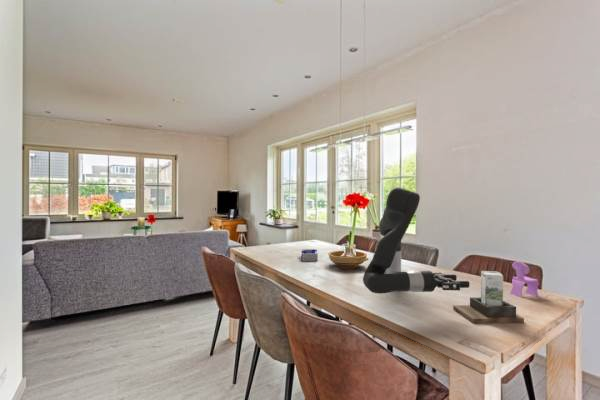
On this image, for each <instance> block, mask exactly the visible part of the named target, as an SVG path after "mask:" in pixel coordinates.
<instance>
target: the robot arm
mask: <svg viewBox="0 0 600 400" xmlns="http://www.w3.org/2000/svg"><path fill="white" fill-rule="evenodd" d="M420 200H421V196H420V194H419V193H417V192H415V191H411V190H409V189H406V188H402V187H397V186H396V187H393V188H392V189H391V190H390V191H389V193H388V194H387V199H386V203H385V204H386V206H385V209H384V211H383V215H382V218H381V219H380V221H379V224H378V230H379V234H380V235H381V236H383V237H381V238H380V239H379V241H378V242H377V245H376V248H375V251H374V253H373V256H372V259H371V260H370V262H369V264H368V265H367V267H366V269H365V272H364V274H363V278H362V281H363V286H364V287H365V288H367V289H368V290H369V291H370V292H371V293H373V294H382V295H383V294H388V293H394V292H413V293H431V292H434V290H435V289H436V288H439V289H442V290H443V291H461V289H462V288H463V289H465V288H467V289H469V288H470V281H468V280H457V275H456V274H446V273H442V272H432V271H431V270H409V271H402V240H403V238H404V236H405V234H406V232H407V230H408V228H409V226H410V224H411V222H412V220H413V218H414V216H415V214H416V212H417V209H418V207H419V204H420Z"/></svg>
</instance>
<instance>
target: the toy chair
mask: <svg viewBox="0 0 600 400" xmlns="http://www.w3.org/2000/svg"><path fill="white" fill-rule="evenodd" d="M512 268H513V269H514V271H515V272H516V276H512V280H511V282H512V283H511V284H512V287H511V290H510V292H509V294H511V295H514V296H515V297H519V298H523V288H524V286H525V284H526V285H527V287H526V290H525V291H524V293H525V294H528V295H532V296H535V297H539V293H538V287H539V280H538V279H536V278H532V277H529V276H526V275H528V274H529V273H530V267H529V266H528V265H527V264H526V263H525V262H521V261H517V260H516V261H514V262H513V263H512Z"/></svg>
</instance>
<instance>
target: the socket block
mask: <svg viewBox="0 0 600 400" xmlns="http://www.w3.org/2000/svg"><path fill="white" fill-rule="evenodd" d="M452 307H453V308H452V309H453V311H455V312H456V313H458V314H460V315H461V316H462V317H463V318H465V319H466V320H468V321H470V322H471V323H472V324H511V323H512V324H517V323H520V324H523V323H525V318H524V317H522V316H520V315H519V314H517V306H515V305H513V304H511V303H509V302H507V301H505V300H503V306H487V305H486V304H484V303H482V302H481V296H480V297H469V305H465V304H464V305H463V304H461V305H458V304H457V305H453V306H452Z"/></svg>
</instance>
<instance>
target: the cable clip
mask: <svg viewBox="0 0 600 400" xmlns="http://www.w3.org/2000/svg"><path fill="white" fill-rule="evenodd" d="M312 249H313V250H312V253H310V254H315V251H316V252H317V253H318V249H316V250H315V248H312ZM302 253H304V254H307V253H306V251H302V250H301V254H302Z"/></svg>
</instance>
